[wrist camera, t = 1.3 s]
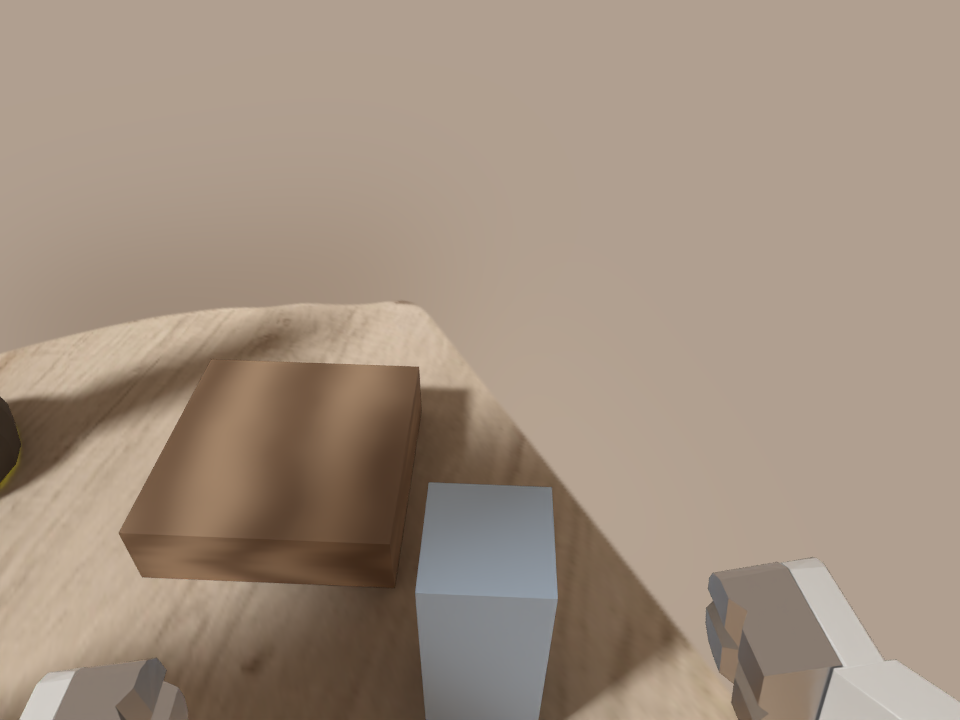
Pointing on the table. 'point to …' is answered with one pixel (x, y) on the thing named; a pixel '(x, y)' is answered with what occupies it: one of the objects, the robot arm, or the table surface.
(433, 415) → the table surface
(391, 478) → the block
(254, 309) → the table surface
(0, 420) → the flashlight
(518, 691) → the slate block
